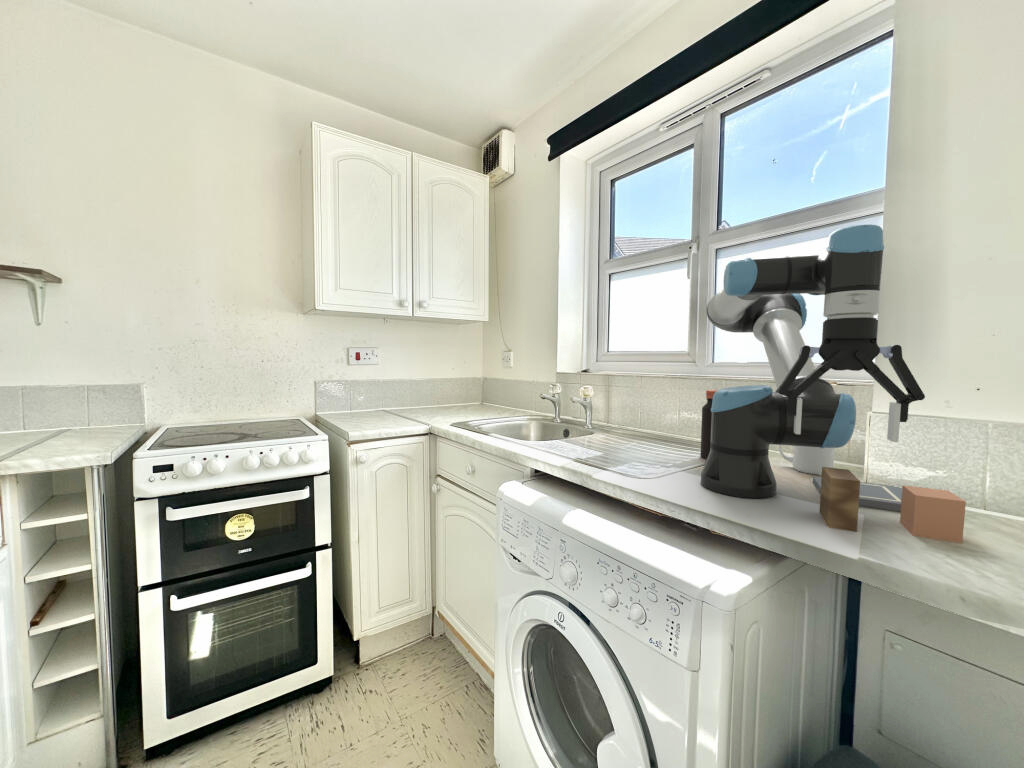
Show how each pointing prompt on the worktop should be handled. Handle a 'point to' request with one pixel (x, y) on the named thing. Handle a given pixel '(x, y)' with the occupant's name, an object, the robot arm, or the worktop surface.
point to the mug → (810, 459)
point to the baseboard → (874, 495)
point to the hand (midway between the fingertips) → (842, 436)
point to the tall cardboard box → (839, 498)
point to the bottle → (706, 425)
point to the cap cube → (932, 513)
